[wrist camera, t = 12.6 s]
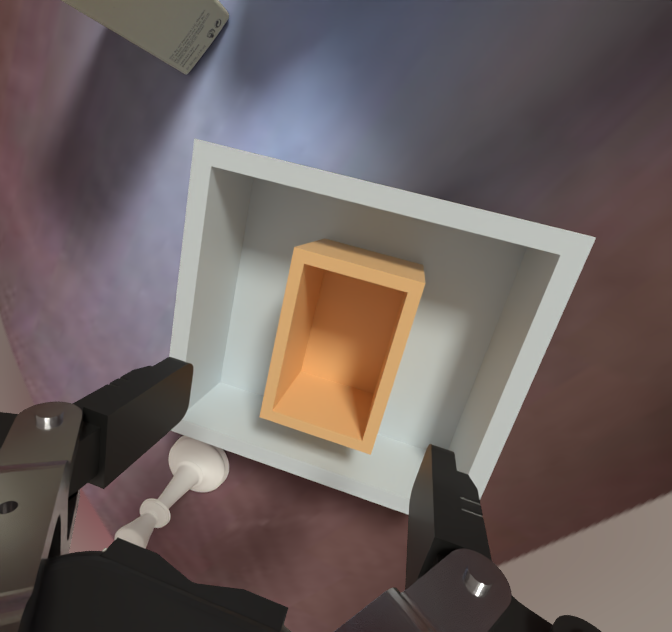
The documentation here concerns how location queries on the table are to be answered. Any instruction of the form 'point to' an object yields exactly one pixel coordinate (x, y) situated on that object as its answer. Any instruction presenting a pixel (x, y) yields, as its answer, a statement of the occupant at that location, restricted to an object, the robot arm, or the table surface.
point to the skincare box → (161, 25)
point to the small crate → (340, 341)
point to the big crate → (425, 335)
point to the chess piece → (178, 486)
